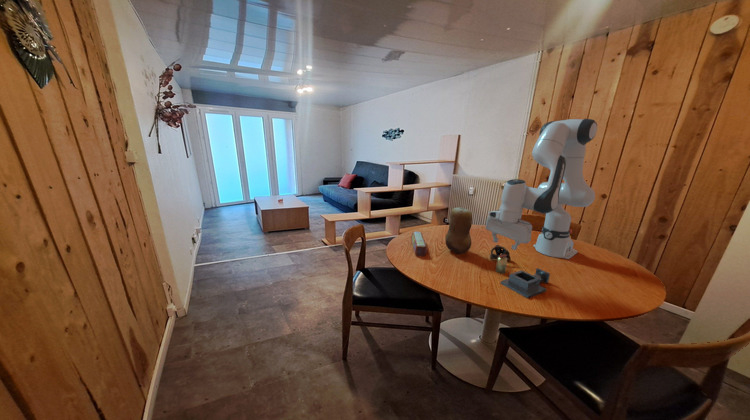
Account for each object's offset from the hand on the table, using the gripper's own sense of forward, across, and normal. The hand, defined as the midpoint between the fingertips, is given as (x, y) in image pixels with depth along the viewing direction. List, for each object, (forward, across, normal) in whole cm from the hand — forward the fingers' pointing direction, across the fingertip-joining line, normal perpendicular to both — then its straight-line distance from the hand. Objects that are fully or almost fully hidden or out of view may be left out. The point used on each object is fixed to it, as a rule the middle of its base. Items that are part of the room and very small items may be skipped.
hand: (504, 245), depth 112 cm
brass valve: (+13, 0, -1) cm, 13 cm away
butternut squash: (+14, +25, +2) cm, 29 cm away
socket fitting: (+13, -13, -1) cm, 19 cm away
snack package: (+14, +38, +19) cm, 45 cm away
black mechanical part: (+14, +9, -12) cm, 20 cm away
